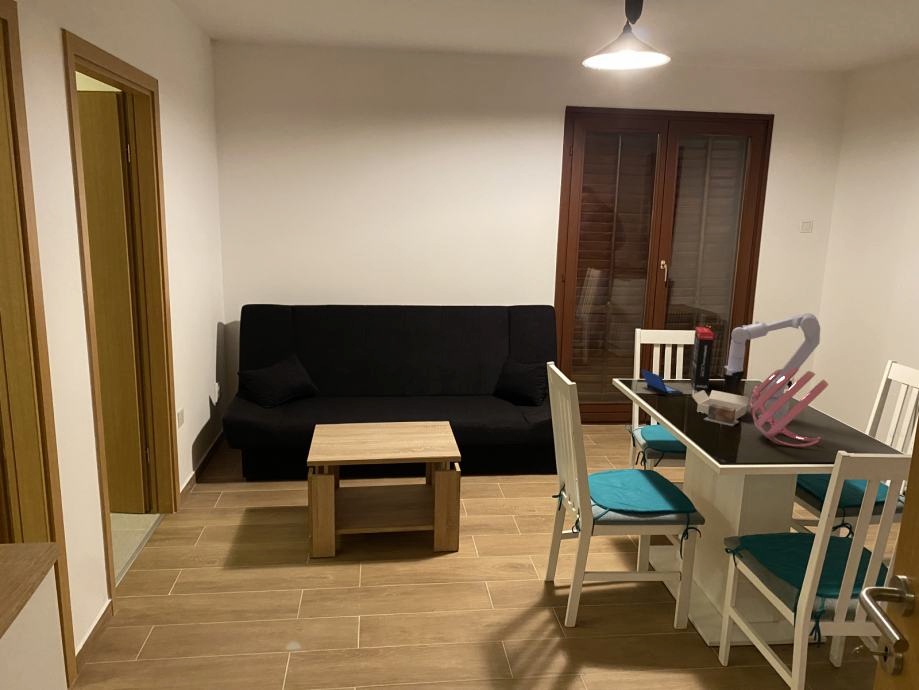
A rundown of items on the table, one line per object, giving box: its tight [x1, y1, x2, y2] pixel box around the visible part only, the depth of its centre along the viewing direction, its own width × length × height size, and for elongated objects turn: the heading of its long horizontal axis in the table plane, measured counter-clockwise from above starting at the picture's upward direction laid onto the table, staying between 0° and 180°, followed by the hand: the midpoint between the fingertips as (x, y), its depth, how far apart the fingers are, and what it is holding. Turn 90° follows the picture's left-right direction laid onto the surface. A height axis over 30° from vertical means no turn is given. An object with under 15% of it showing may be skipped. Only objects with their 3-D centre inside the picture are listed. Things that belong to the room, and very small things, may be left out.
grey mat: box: [703, 416, 740, 427], centre depth 266 cm, size 11×8×1 cm
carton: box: [691, 389, 756, 421], centre depth 279 cm, size 21×16×6 cm
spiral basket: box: [749, 368, 829, 448], centre depth 242 cm, size 28×28×27 cm
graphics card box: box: [689, 326, 715, 392], centre depth 319 cm, size 17×7×27 cm, turn 168°
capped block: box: [707, 404, 736, 423], centre depth 266 cm, size 9×4×5 cm, turn 51°
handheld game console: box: [641, 368, 684, 397], centre depth 308 cm, size 16×13×9 cm
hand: (732, 389), depth 278 cm, fingers open, 7 cm apart
